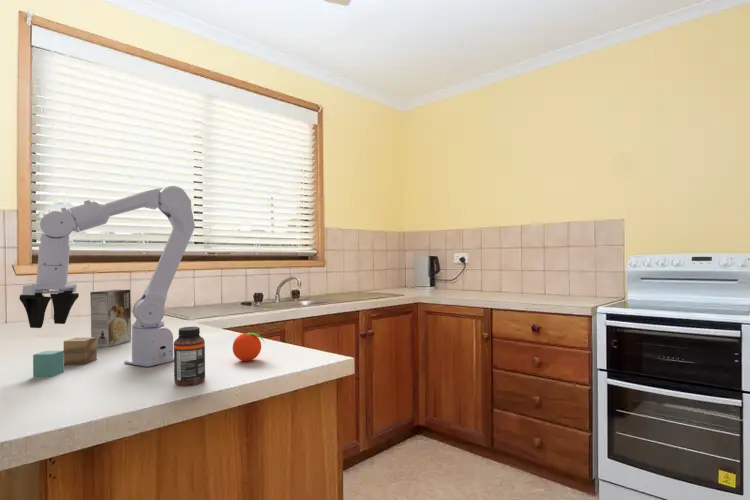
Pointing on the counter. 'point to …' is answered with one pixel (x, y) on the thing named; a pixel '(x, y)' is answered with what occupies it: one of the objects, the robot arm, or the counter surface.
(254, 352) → the clementine
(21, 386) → the counter surface
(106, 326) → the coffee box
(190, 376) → the supplement bottle
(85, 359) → the tower lower
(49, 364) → the teal block
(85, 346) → the tower upper
